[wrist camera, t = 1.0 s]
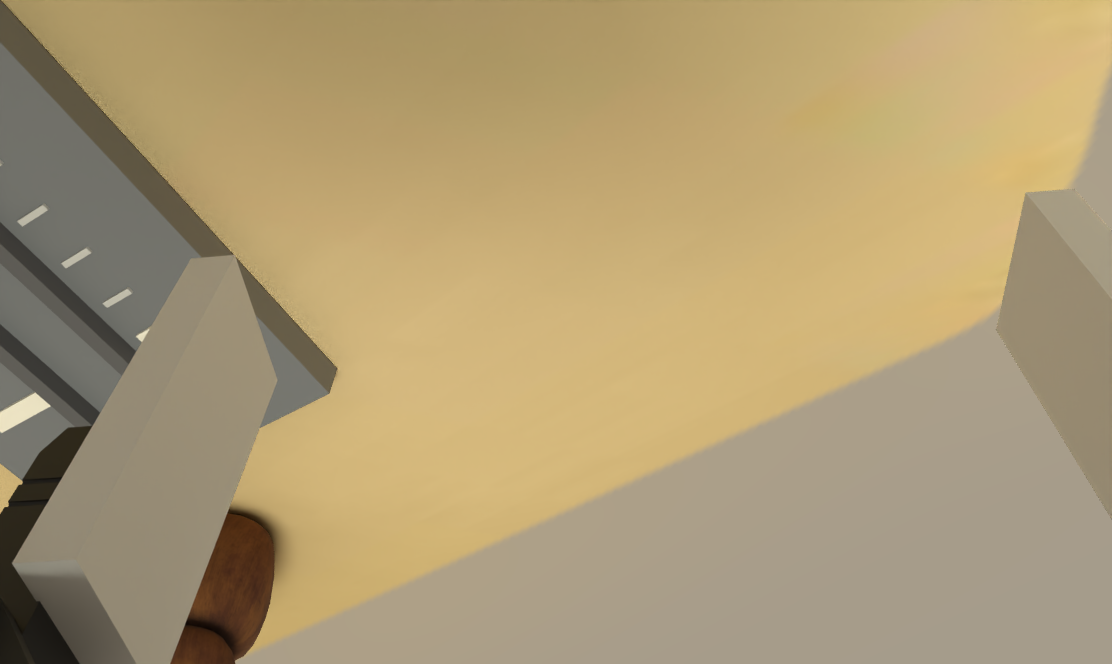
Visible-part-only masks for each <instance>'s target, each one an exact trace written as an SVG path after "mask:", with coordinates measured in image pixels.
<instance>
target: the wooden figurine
mask: <svg viewBox="0 0 1112 664" xmlns="http://www.w3.org/2000/svg"><path fill="white" fill-rule="evenodd" d="M273 580H274V547H273V542H272V540H271V538H270V536H269V534H268V532H267V531H266V530H265V529H264V528H263V527H261V526H260V525H259V524H258V523H257V522H255V521H253V520H251V519H248V518H246V517H243V516H240V515H235V514H227V515H226V518H225V520H224V523H223V526H222V528H221V531H220V534H219V536H218V539H217V541H216V544H215V547H214V549H213V552H212V555H211V557H210V560H209V563H208V565H207V568H206V570H205V573H204V576H203V578H202V581H201V584H200V586H199V589H198V592H197V594H196V597H195V599H194V602H193V605H192V607H191V610H190V613H189V615H188V618H187V621H186V623H185V626H184V628H183V631H182V634H181V636H180V639H179V642H178V644H177V647H176V650H175V652H174V655H173V657H172V660H171V663H170V664H235V660H237V659H239V658H241V657H243V656H244V655H245V654H246V653H247V652H248V650H249V649H250V648H251V647H252V646H253V644H254V642H255V640H256V639H257V637H258V635H259V633H260V630H261V628H262V626H263V623H264V621H265V618H266V615H267V611H268V608H269V605H270V599H271V593H272V586H273Z"/></svg>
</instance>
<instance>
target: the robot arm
mask: <svg viewBox="0 0 1112 664" xmlns="http://www.w3.org/2000/svg"><path fill="white" fill-rule="evenodd" d="M996 330H997V332H998V333H999V335H1000V337H1001V338H1002V340H1003V342H1004V343H1005V345H1006V347H1007V348H1008V350H1009V351H1010V353H1011V355H1012V357H1013V358H1014V360H1015V361H1016V363H1017V365H1018V366H1019V368H1020V370H1021V371H1022V373H1023V375H1024V376H1025V378H1026V379H1027V381H1028V383H1029V384H1030V386H1031V388H1032V389H1033V391H1034V393H1035V394H1036V396H1037V398H1038V399H1039V401H1040V402H1041V404H1042V406H1043V407H1044V409H1045V411H1046V412H1047V414H1048V416H1049V417H1050V419H1051V421H1052V422H1053V424H1054V425H1055V427H1056V429H1057V430H1058V432H1059V434H1060V435H1061V437H1062V438H1063V440H1064V442H1065V443H1066V445H1067V447H1068V448H1069V450H1070V452H1071V453H1072V455H1073V457H1074V458H1075V460H1076V462H1077V463H1078V465H1079V466H1080V468H1081V470H1082V471H1083V473H1084V475H1085V476H1086V478H1087V480H1088V481H1089V483H1090V485H1091V486H1092V488H1093V489H1094V491H1095V493H1096V494H1097V496H1098V498H1099V499H1100V501H1101V503H1102V504H1103V506H1104V507H1105V509H1106V511H1107V512H1108V514H1109V516H1110V517H1111V519H1112V230H1111V229H1110V228H1109V227H1108V226H1107V225H1106V224H1105V222H1104V221H1103V220H1102V219H1101V218H1100V217H1099V216H1098V215H1097V214H1096V212H1095V211H1094V210H1093V209H1092V208H1091V207H1090V206H1089V205H1088V203H1087V202H1086V201H1085V200H1084V199H1083V198H1082V197H1081V196H1080V195H1079V193H1078V192H1077V191H1076V190H1075V189H1066V190H1053V191H1040V192H1028V193H1025V198H1024V203H1023V207H1022V212H1021V217H1020V221H1019V226H1018V231H1017V235H1016V240H1015V244H1014V249H1013V254H1012V258H1011V263H1010V268H1009V272H1008V277H1007V282H1006V286H1005V291H1004V296H1003V300H1002V305H1001V310H1000V314H999V319H998V324H997V328H996ZM277 381H278V380H277V377H276V374H275V371H274V368H273V365H272V362H271V360H270V357H269V354H268V351H267V348H266V345H265V342H264V339H263V336H262V333H261V330H260V327H259V324H258V321H257V319H256V316H255V313H254V310H253V307H252V304H251V301H250V298H249V295H248V292H247V289H246V286H245V283H244V280H243V277H242V275H241V272H240V269H239V266H238V263H237V260H236V257H235V255H228V256H216V257H203V258H191V259H190V261H189V263H188V265H187V266H186V268H185V270H184V271H183V273H182V275H181V276H180V278H179V280H178V282H177V283H176V285H175V287H174V288H173V290H172V292H171V293H170V295H169V297H168V299H167V300H166V302H165V304H164V305H163V307H162V309H161V311H160V312H159V314H158V316H157V317H156V319H155V321H154V322H153V324H152V326H151V328H150V329H149V331H148V333H147V334H146V336H145V338H144V339H143V341H142V343H141V345H140V346H139V348H138V350H137V351H136V353H135V355H134V356H133V358H132V360H131V362H130V363H129V365H128V367H127V368H126V370H125V372H124V373H123V375H122V377H121V379H120V380H119V382H118V384H117V385H116V387H115V389H114V390H113V392H112V394H111V396H110V397H109V399H108V401H107V402H106V404H105V406H104V407H103V409H102V411H101V413H100V414H99V416H98V418H97V419H96V421H95V423H94V425H93V426H82V427H68V428H67V429H66V430H65V431H63V432H62V433H61V434H60V435H59V436H58V437H57V438H55V439H54V440H53V441H52V442H51V443H50V444H48V445H47V446H46V447H45V448H44V449H43V450H42V451H40V452H39V454H38V455H37V457H36V459H35V460H34V462H33V463H32V465H31V466H30V468H29V470H28V471H27V473H26V474H25V476H24V478H23V479H22V481H23V484H22V485H18V487H17V489H16V490H15V492H14V493H13V495H12V496H11V498H10V500H9V501H8V502H9V506H8V507H5V508H4V509H3V511H2V512H1V514H0V664H170V663H171V660H172V657H173V655H174V652H175V650H176V647H177V644H178V642H179V639H180V636H181V634H182V631H183V628H184V626H185V623H186V621H187V618H188V615H189V613H190V610H191V607H192V605H193V602H194V599H195V597H196V594H197V592H198V589H199V586H200V584H201V581H202V578H203V576H204V573H205V570H206V568H207V565H208V563H209V560H210V557H211V555H212V552H213V549H214V547H215V544H216V541H217V539H218V536H219V534H220V531H221V528H222V526H223V523H224V520H225V518H226V515H227V512H228V510H229V507H230V505H231V502H232V499H233V497H234V494H235V491H236V489H237V486H238V483H239V481H240V478H241V475H242V473H243V470H244V468H245V465H246V462H247V460H248V457H249V454H250V452H251V449H252V446H253V444H254V441H255V439H256V436H257V433H258V431H259V428H260V425H261V423H262V420H263V417H264V415H265V412H266V410H267V407H268V404H269V402H270V399H271V396H272V394H273V391H274V388H275V386H276V383H277Z"/></svg>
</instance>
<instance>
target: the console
mask: <svg viewBox="0 0 1112 664" xmlns="http://www.w3.org/2000/svg"><path fill="white" fill-rule="evenodd" d="M228 255H233V254H232V253H231V252H230V251H229V250H228V249H227V248H226V247H225V245H224V244H223V243H222V242H221V241H220V240H219V239H218V238H217V237H216V236H215V235H214V233H213V232H212V231H211V230H210V229H209V228H208V227H207V226H206V225H205V224H204V222H203V221H202V220H201V219H200V218H199V217H198V216H197V215H196V214H195V213H194V212H193V210H192V209H191V208H190V207H189V206H188V205H187V204H186V203H185V202H184V201H183V199H182V198H181V197H180V196H179V195H178V194H177V193H176V192H175V191H174V190H173V189H172V187H171V186H170V185H169V184H168V183H167V182H166V181H165V180H164V179H163V178H162V177H161V175H160V174H159V173H158V172H157V171H156V170H155V169H154V168H153V167H152V166H151V164H150V163H149V162H148V161H147V160H146V159H145V158H144V157H143V156H142V155H141V154H140V152H139V151H138V150H137V149H136V148H135V147H134V146H133V145H132V144H131V143H130V141H129V140H128V139H127V138H126V137H125V136H124V135H123V134H122V133H121V132H120V131H119V129H118V128H117V127H116V126H115V125H114V124H113V123H112V122H111V121H110V120H109V118H108V117H107V116H106V115H105V114H104V113H103V112H102V111H101V110H100V109H99V108H98V106H97V105H96V104H95V103H94V102H93V101H92V100H91V99H90V98H89V97H88V96H87V94H86V93H85V92H84V91H83V90H82V89H81V88H80V87H79V86H78V85H77V83H76V82H75V81H74V80H73V79H72V78H71V77H70V76H69V75H68V74H67V73H66V71H65V70H64V69H63V68H62V67H61V66H60V65H59V64H58V63H57V62H56V60H55V59H54V58H53V57H52V56H51V55H50V54H49V53H48V52H47V51H46V50H45V48H44V47H43V46H42V45H41V44H40V43H39V42H38V41H37V40H36V39H35V37H34V36H33V35H32V34H31V33H30V32H29V31H28V30H27V29H26V28H25V27H24V25H23V24H22V23H21V22H20V21H19V20H18V19H17V18H16V17H15V16H14V15H13V13H12V12H11V11H10V10H9V9H8V8H7V7H6V6H5V5H4V4H3V2H2V1H1V0H0V464H2V465H3V466H4V467H6V468H7V469H8V470H9V471H11V472H12V473H13V474H14V475H16V476H17V477H18V478H19V479H21V480H22V479H23V478H24V476H25V474H26V473H27V471H28V470H29V468H30V466H31V465H32V463H33V462H34V460H35V459H36V457H37V455H38V454H39V452H40V451H42V450H43V449H44V448H45V447H46V446H47V445H48V444H50V443H51V442H52V441H53V440H54V439H55V438H57V437H58V436H59V435H60V434H61V433H62V432H63V431H65V430H66V429H67V428H68V427H82V426H93V425H94V423H95V421H96V419H97V418H98V416H99V414H100V413H101V411H102V409H103V407H104V406H105V404H106V402H107V401H108V399H109V397H110V396H111V394H112V392H113V390H114V389H115V387H116V385H117V384H118V382H119V380H120V379H121V377H122V375H123V373H124V372H125V370H126V368H127V367H128V365H129V363H130V362H131V360H132V358H133V356H134V355H135V353H136V351H137V350H138V348H139V346H140V345H141V343H142V341H143V339H144V338H145V336H146V334H147V333H148V331H149V329H150V328H151V326H152V324H153V322H154V321H155V319H156V317H157V316H158V314H159V312H160V311H161V309H162V307H163V305H164V304H165V302H166V300H167V299H168V297H169V295H170V293H171V292H172V290H173V288H174V287H175V285H176V283H177V282H178V280H179V278H180V276H181V275H182V273H183V271H184V270H185V268H186V266H187V265H188V263H189V261H190V259H191V258H203V257H216V256H228ZM236 260H237V259H236ZM237 263H238V266H239V269H240V272H241V275H242V277H243V280H244V283H245V286H246V289H247V292H248V295H249V298H250V301H251V304H252V307H253V310H254V313H255V316H256V319H257V321H258V324H259V327H260V330H261V333H262V336H263V339H264V342H265V345H266V348H267V351H268V354H269V357H270V360H271V362H272V365H273V368H274V371H275V374H276V377H277V380H278V381H277V383H276V386H275V388H274V391H273V394H272V396H271V399H270V402H269V404H268V407H267V410H266V412H265V415H264V417H263V420H262V423H261V425H260V428H261V427H263V426H265V425H267V424H269V423H271V422H273V421H275V420H277V419H279V418H281V417H283V416H285V415H287V414H289V413H291V412H293V411H295V410H297V409H299V408H301V407H303V406H305V405H307V404H309V403H311V402H313V401H315V400H317V399H319V398H321V397H323V396H325V395H327V394H329V393H330V390H331V387H332V384H333V380H334V377H335V374H336V371H337V368H336V367H335V366H334V365H333V364H332V363H331V361H330V360H329V359H328V358H327V357H326V356H325V355H324V354H323V353H322V352H321V351H320V349H319V348H318V347H317V346H316V345H315V344H314V343H313V342H312V341H311V340H310V339H309V337H308V336H307V335H306V334H305V333H304V332H303V331H302V330H301V329H300V328H299V326H298V325H297V324H296V323H295V322H294V321H293V320H292V319H291V318H290V317H289V316H288V314H287V313H286V312H285V311H284V310H283V309H282V308H281V307H280V306H279V305H278V303H277V302H276V301H275V300H274V299H273V298H272V297H271V296H270V295H269V294H268V293H267V291H266V290H265V289H264V288H263V287H262V286H261V285H260V284H259V283H258V282H257V280H256V279H255V278H254V277H253V276H252V275H251V274H250V273H249V272H248V271H247V270H246V268H245V267H244V266H243V265H242V264H241V263H240V262H239V261H238V260H237Z"/></svg>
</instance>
